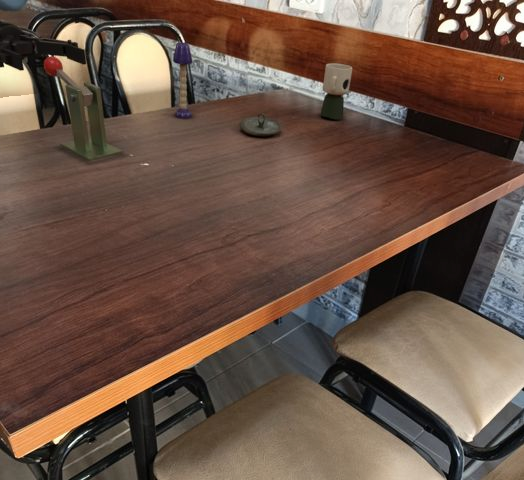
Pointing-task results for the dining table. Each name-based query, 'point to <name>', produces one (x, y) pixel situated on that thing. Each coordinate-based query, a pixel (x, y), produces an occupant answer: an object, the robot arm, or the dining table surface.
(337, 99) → the character mug
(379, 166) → the dining table surface
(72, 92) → the stand
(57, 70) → the lever
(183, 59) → the toy lamp
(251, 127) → the lid
